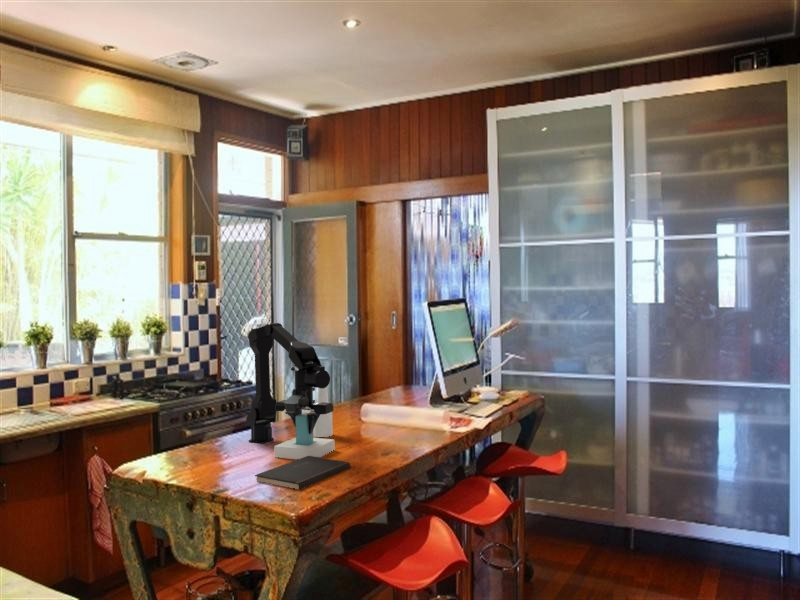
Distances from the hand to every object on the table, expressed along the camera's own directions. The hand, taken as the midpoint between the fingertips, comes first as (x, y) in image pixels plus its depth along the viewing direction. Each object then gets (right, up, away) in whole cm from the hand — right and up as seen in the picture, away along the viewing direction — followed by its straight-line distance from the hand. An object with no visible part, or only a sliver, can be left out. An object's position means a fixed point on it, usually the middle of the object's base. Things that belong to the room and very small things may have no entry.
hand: (304, 433), depth 204 cm
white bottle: (+3, -6, +25) cm, 26 cm away
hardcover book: (+3, -8, -23) cm, 24 cm away
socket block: (0, -7, 0) cm, 7 cm away
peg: (0, -4, 0) cm, 4 cm away
